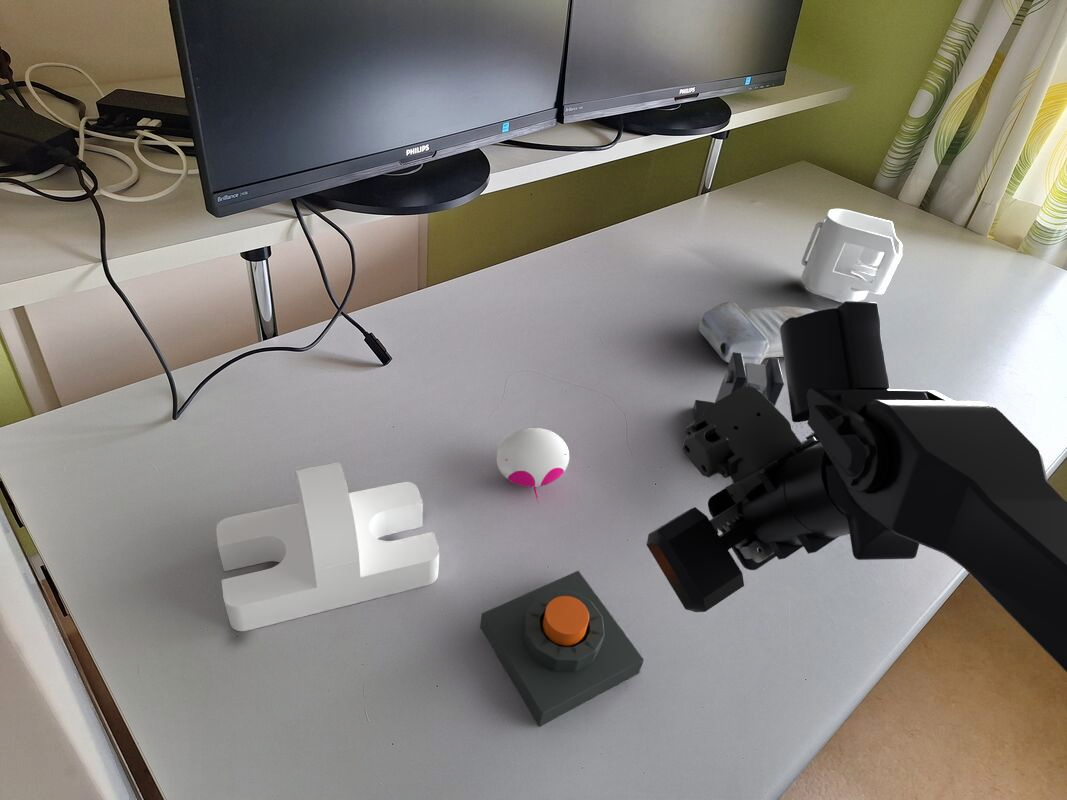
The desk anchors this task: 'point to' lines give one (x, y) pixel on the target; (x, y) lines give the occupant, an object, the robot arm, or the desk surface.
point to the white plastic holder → (850, 256)
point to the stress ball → (533, 457)
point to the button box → (559, 650)
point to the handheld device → (747, 330)
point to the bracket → (737, 378)
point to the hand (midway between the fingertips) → (728, 524)
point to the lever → (755, 376)
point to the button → (565, 620)
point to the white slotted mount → (324, 550)
